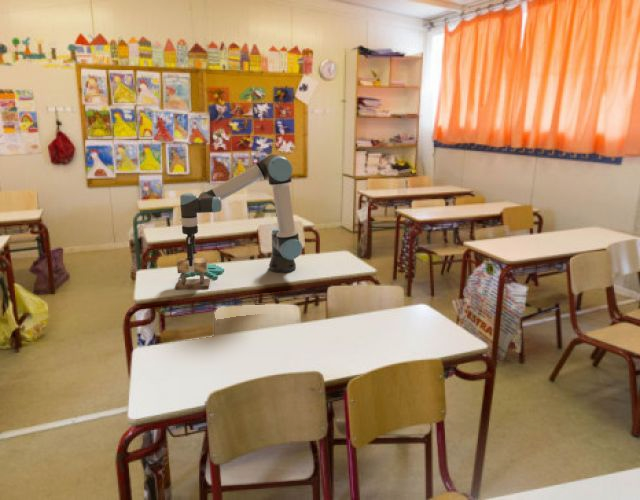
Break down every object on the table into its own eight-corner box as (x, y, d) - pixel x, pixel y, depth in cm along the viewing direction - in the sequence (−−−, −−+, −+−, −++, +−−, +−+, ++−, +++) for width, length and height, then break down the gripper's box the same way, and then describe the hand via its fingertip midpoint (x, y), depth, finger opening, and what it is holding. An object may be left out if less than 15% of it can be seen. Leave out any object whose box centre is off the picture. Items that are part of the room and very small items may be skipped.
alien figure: (216, 280, 257) (227, 268, 276) (216, 276, 256) (227, 264, 276) (180, 278, 259) (193, 267, 278) (180, 274, 258) (193, 263, 277)
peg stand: (210, 281, 254) (209, 266, 252) (208, 288, 244) (207, 273, 242) (178, 282, 252) (177, 267, 250) (175, 289, 242) (174, 274, 239)
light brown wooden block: (207, 267, 251) (206, 257, 249) (206, 272, 243) (206, 262, 242) (179, 268, 248) (178, 258, 247) (177, 273, 241) (177, 263, 239)
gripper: (184, 220, 249) (187, 263, 255) (179, 230, 229) (182, 276, 235) (199, 220, 250) (201, 262, 256) (195, 230, 230) (198, 275, 236)
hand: (192, 269), depth 246 cm, fingers closed on light brown wooden block, 8 cm apart
